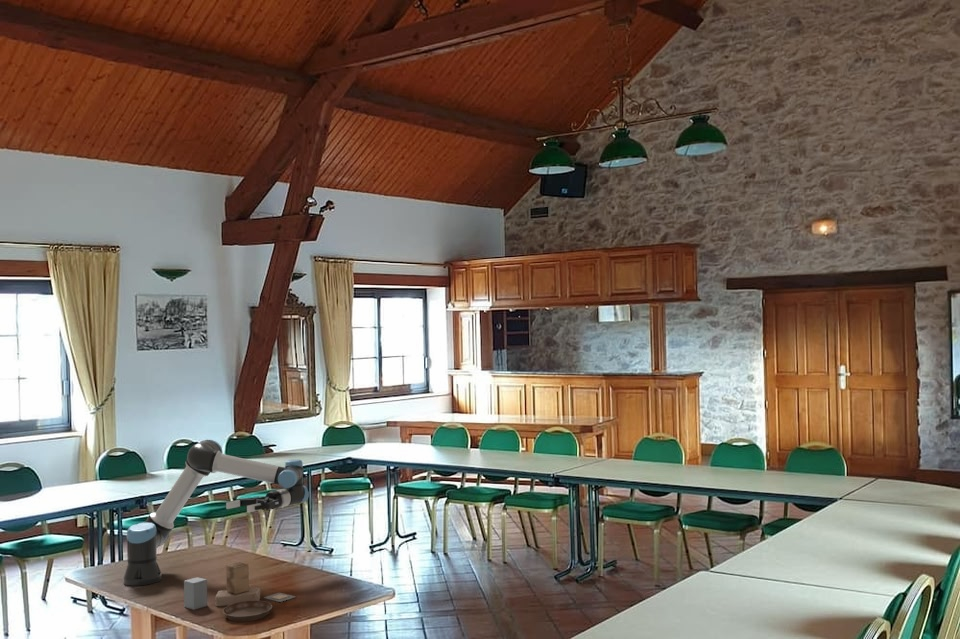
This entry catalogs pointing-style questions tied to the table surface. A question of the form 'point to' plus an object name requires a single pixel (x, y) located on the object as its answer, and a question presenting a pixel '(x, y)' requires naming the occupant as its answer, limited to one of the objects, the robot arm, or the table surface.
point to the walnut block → (237, 577)
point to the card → (279, 597)
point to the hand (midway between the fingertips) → (236, 507)
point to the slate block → (195, 593)
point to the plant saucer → (247, 610)
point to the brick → (236, 597)
